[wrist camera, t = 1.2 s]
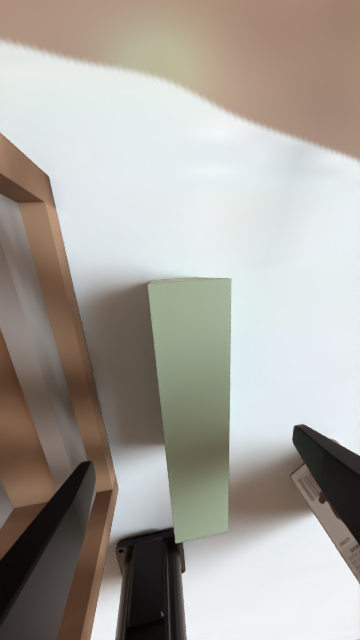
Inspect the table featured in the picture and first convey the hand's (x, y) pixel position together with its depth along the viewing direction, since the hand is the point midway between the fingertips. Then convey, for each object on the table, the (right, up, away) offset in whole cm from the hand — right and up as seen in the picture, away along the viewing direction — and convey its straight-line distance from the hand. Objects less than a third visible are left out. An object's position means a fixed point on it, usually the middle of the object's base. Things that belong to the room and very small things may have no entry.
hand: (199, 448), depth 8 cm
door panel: (-1, +2, +6) cm, 6 cm away
